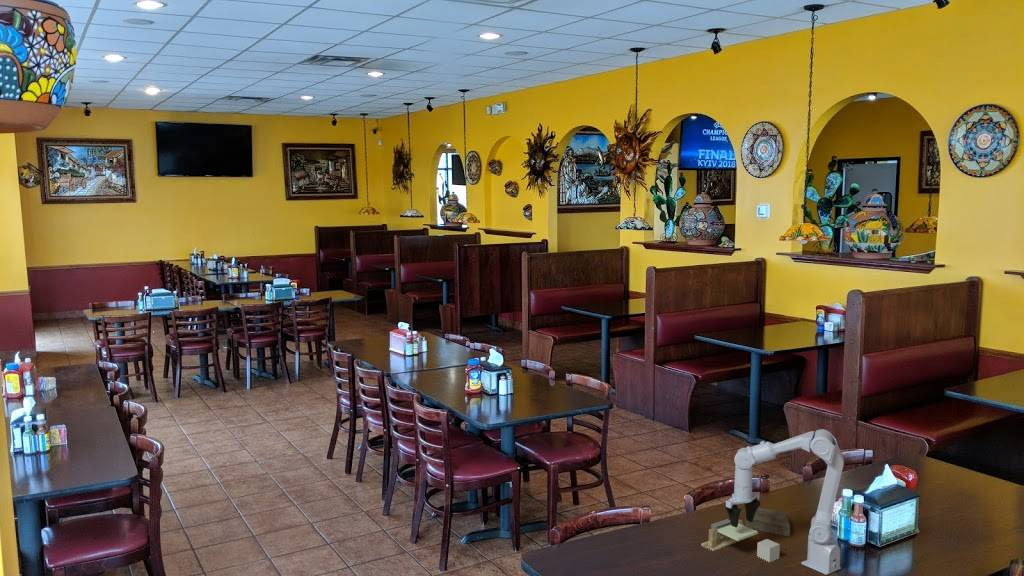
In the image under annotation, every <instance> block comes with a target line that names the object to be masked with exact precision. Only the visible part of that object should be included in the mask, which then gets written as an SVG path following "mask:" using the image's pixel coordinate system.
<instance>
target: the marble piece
mask: <svg viewBox="0 0 1024 576" xmlns="http://www.w3.org/2000/svg"><path fill="white" fill-rule="evenodd" d="M745 515H746V511H745ZM744 519H745V526H746V527H749V528H751V529H755V530H756V531H757V530H761V531H760V532H763V531H764V532H763V533H768V532H771V533H770V534H772V533H775V534H774V535H777V534H779V535H778V536H781V535H783V537H784V536H785V537H791V525H790V521H789V518H788V517H787V515H786V513H785V512H784V511H783V510H778V509H770V508H764V507H762V508H761V507H758V508H757V510H756V513H755V516H754V519H753V522H749V521H747V520H746V518H744Z"/></svg>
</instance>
